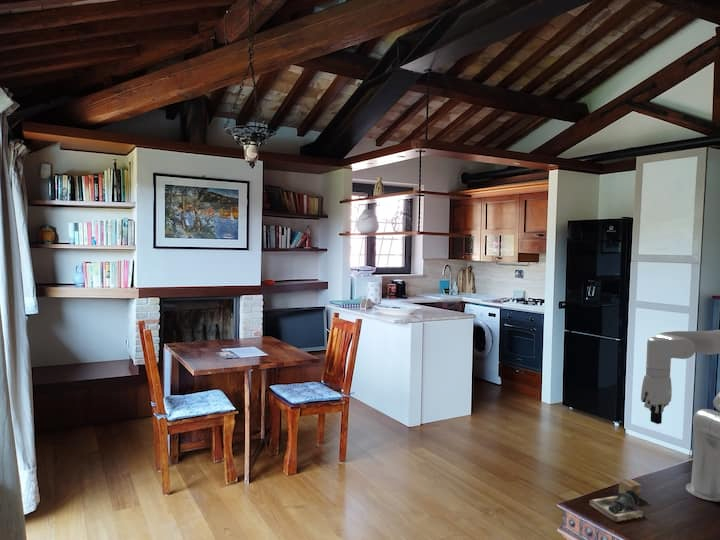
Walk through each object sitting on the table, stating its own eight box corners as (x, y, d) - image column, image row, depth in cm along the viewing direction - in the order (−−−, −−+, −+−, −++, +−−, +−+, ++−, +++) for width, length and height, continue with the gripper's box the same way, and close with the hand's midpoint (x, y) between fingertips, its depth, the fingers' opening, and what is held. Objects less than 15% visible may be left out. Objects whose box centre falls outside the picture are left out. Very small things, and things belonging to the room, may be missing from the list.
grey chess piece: (643, 501, 179) (619, 516, 174) (634, 508, 183) (611, 523, 178) (630, 486, 182) (606, 499, 177) (621, 493, 186) (598, 507, 181)
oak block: (629, 491, 196) (630, 478, 195) (640, 498, 191) (641, 484, 191) (618, 493, 194) (619, 480, 194) (629, 499, 189) (630, 486, 189)
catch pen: (616, 500, 188) (616, 495, 188) (642, 516, 178) (643, 511, 177) (589, 504, 184) (589, 500, 184) (614, 521, 174) (615, 516, 173)
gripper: (663, 367, 193) (661, 416, 194) (633, 371, 187) (631, 421, 189) (682, 372, 186) (680, 423, 187) (651, 377, 180) (649, 429, 182)
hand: (655, 422), depth 188 cm, fingers closed
